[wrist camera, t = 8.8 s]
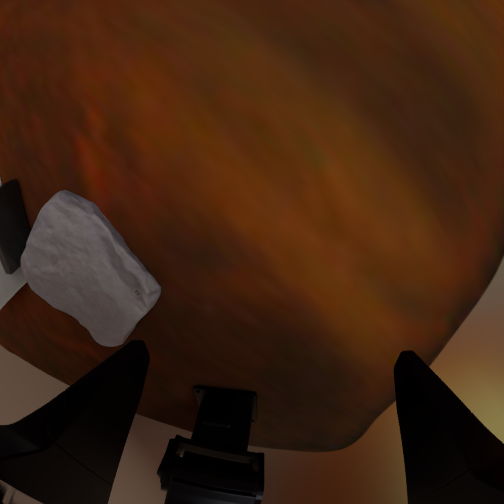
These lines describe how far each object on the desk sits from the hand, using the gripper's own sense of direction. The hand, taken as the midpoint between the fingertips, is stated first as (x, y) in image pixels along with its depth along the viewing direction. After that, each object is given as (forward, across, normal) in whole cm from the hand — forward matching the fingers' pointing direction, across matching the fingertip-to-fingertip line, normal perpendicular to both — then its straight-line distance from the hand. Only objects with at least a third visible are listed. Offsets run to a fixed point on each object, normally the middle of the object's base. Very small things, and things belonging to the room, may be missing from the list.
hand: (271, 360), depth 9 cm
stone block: (+11, +14, +3) cm, 18 cm away
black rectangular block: (+10, +26, -2) cm, 28 cm away
